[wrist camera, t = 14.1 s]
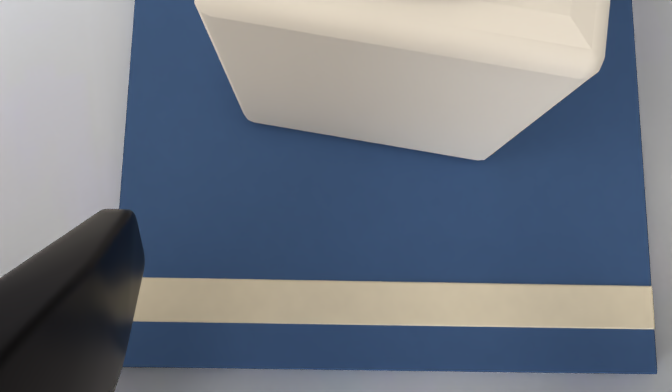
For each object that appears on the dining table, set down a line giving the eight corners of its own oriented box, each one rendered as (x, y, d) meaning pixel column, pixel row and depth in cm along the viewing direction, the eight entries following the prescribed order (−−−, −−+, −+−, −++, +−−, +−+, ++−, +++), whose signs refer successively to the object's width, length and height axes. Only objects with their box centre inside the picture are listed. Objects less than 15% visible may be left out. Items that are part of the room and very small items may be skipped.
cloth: (649, 371, 16) (659, 374, 16) (112, 365, 16) (106, 367, 15) (608, -245, 19) (615, -258, 19) (159, -263, 19) (154, -276, 18)
